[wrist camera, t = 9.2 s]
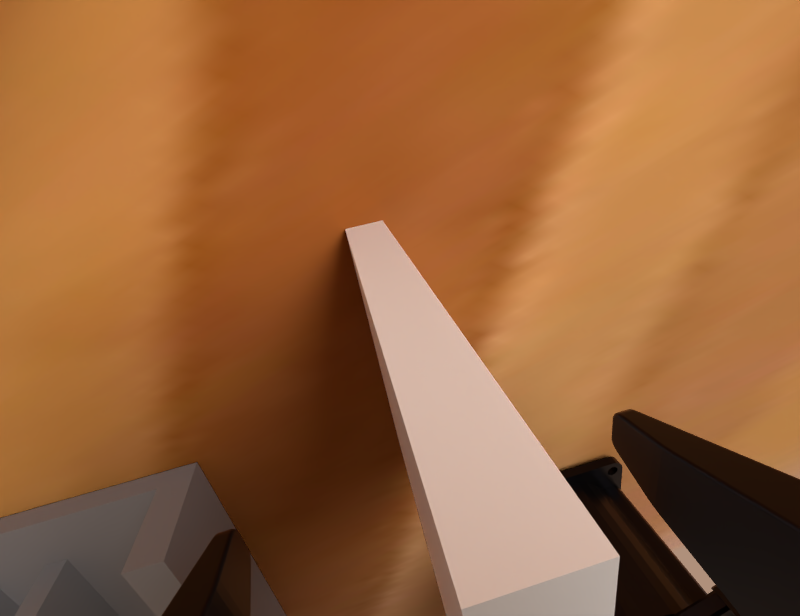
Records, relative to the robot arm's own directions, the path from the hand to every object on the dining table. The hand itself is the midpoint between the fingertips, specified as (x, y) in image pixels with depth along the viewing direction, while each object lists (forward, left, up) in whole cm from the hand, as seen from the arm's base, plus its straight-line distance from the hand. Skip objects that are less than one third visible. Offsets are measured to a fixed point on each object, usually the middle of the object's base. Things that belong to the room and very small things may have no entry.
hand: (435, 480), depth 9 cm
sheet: (0, 0, -6) cm, 6 cm away
